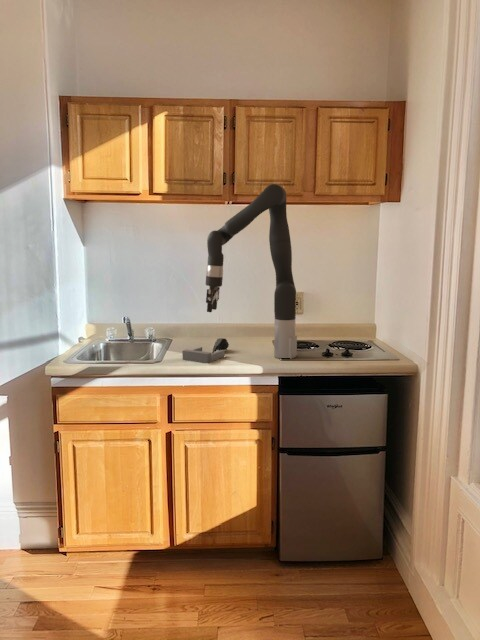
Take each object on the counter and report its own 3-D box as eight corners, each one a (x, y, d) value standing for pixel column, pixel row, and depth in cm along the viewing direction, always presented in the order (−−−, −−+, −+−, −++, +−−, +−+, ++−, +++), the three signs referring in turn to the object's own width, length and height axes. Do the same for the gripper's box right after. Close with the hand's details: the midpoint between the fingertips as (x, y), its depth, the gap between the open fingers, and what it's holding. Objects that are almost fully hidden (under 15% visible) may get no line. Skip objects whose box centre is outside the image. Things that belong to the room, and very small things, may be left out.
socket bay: (224, 356, 228) (224, 347, 228) (207, 363, 216) (207, 354, 216) (200, 353, 235) (200, 344, 234) (182, 359, 223) (182, 350, 222)
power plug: (205, 353, 232) (217, 334, 239) (211, 364, 237) (222, 345, 244) (216, 354, 229) (227, 335, 236) (221, 365, 234) (232, 346, 241)
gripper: (218, 277, 222) (215, 314, 224) (226, 275, 235) (223, 309, 238) (202, 275, 223) (199, 312, 226) (210, 273, 237) (207, 307, 240)
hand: (211, 310), depth 232 cm, fingers open, 8 cm apart
